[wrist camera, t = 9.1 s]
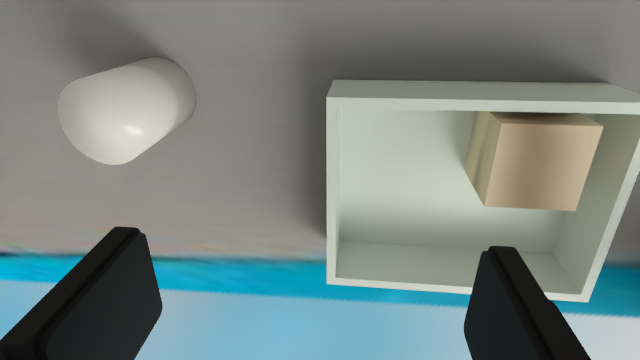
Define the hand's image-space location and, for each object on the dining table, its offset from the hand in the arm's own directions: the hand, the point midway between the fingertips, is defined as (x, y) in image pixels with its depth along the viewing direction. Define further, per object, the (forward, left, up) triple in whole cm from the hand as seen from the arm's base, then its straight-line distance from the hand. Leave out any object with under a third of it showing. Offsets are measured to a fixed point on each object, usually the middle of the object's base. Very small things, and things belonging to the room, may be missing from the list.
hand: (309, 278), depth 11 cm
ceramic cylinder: (+13, +3, -17) cm, 22 cm away
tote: (-9, +2, -17) cm, 20 cm away
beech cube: (-11, -2, -17) cm, 20 cm away
